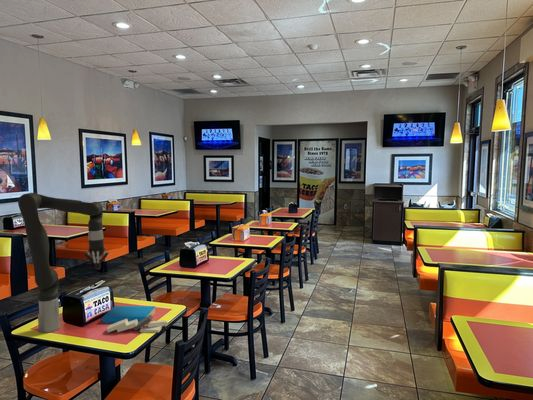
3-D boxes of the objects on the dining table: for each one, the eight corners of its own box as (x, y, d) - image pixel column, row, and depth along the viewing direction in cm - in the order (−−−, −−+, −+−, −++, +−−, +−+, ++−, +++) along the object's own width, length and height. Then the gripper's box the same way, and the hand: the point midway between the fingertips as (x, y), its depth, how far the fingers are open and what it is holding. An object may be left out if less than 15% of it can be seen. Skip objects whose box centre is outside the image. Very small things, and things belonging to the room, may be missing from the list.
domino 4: (140, 329, 199) (158, 330, 198) (143, 325, 204) (161, 325, 203) (140, 333, 199) (158, 333, 198) (143, 329, 204) (161, 329, 203)
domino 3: (133, 328, 200) (149, 318, 201) (135, 324, 205) (151, 314, 205) (135, 330, 200) (151, 320, 201) (137, 326, 205) (153, 317, 206)
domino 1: (106, 329, 197) (125, 322, 199) (108, 325, 202) (126, 318, 204) (107, 332, 198) (126, 325, 199) (110, 328, 203) (128, 321, 204)
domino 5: (148, 323, 200) (167, 321, 205) (146, 321, 204) (165, 320, 209) (148, 327, 200) (166, 325, 204) (146, 325, 204) (164, 323, 209)
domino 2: (116, 329, 198) (135, 322, 200) (118, 325, 203) (136, 319, 205) (117, 332, 199) (136, 326, 200) (120, 328, 204) (138, 322, 205)
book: (114, 305, 227) (155, 305, 227) (115, 312, 228) (155, 312, 227) (101, 317, 210) (145, 316, 209) (102, 324, 211) (145, 324, 210)
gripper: (110, 236, 208) (112, 267, 209) (86, 237, 207) (87, 267, 208) (106, 239, 200) (107, 270, 202) (80, 240, 199) (82, 271, 201)
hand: (97, 269), depth 205 cm, fingers closed
